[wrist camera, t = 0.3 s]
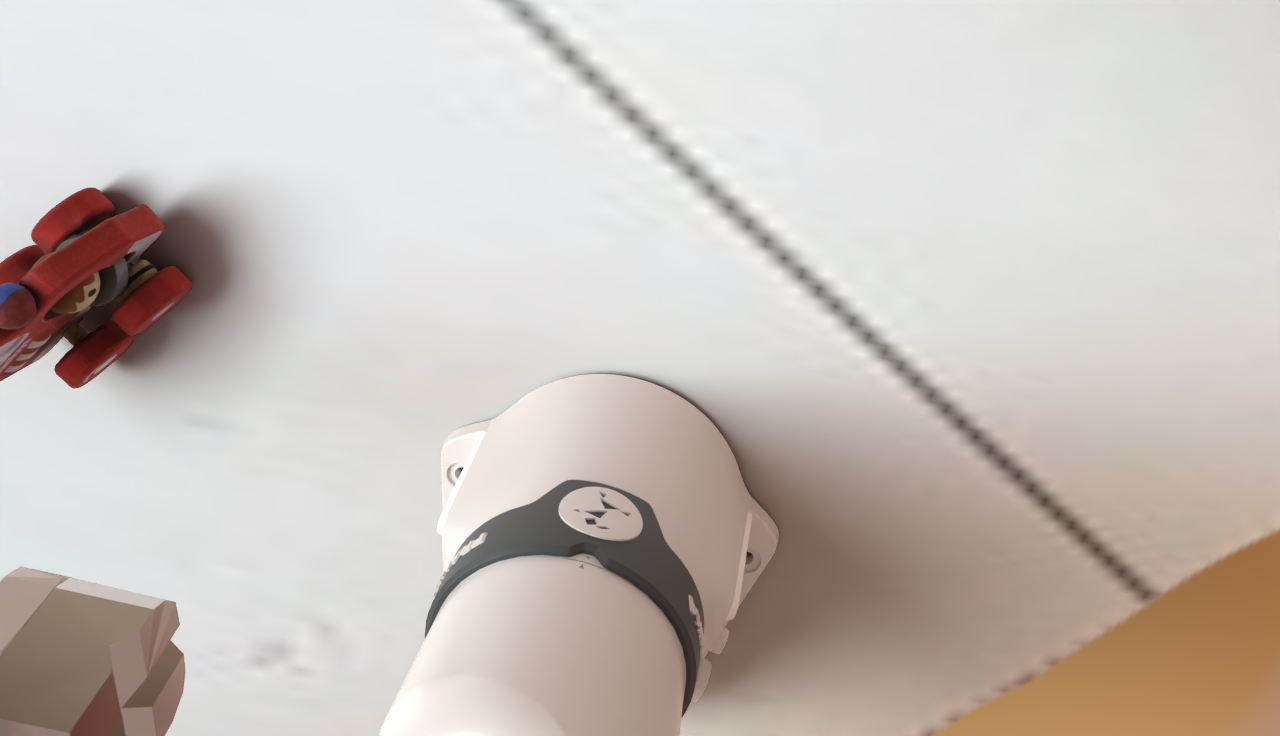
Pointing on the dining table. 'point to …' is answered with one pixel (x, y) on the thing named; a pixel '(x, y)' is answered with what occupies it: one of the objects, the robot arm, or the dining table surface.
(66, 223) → the toy fire truck
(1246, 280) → the dining table surface
